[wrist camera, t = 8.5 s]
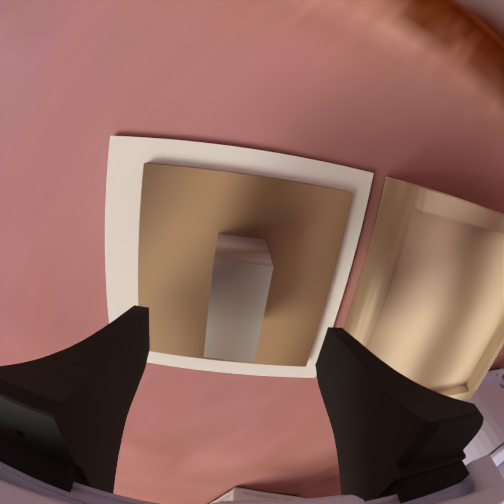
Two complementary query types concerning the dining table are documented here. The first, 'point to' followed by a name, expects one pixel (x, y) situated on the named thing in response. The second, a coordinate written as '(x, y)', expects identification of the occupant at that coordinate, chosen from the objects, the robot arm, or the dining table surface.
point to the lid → (236, 262)
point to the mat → (228, 159)
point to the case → (432, 288)
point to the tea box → (252, 495)
